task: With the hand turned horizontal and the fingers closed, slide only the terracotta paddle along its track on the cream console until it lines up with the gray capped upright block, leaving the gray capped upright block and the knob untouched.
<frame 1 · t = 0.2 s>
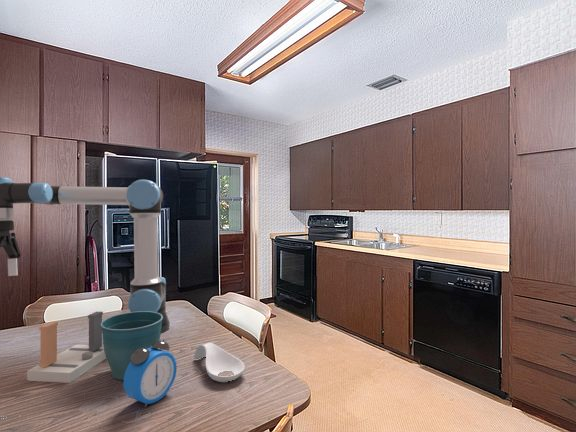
hand: (2, 278, 117), 27 cm above the table, tool pointing down, fingers open, 13 cm apart
console: (73, 366, 108), on the table
gray capped upright block: (95, 331, 113), point 10 cm above the table, slide at 7.0 cm
spoon rest: (215, 372, 105), on the table
flower pot: (132, 372, 104), on the table
alarm clock: (151, 399, 89), on the table
terracotta paddle: (48, 343, 102), point 10 cm above the table, slide at 0.0 cm
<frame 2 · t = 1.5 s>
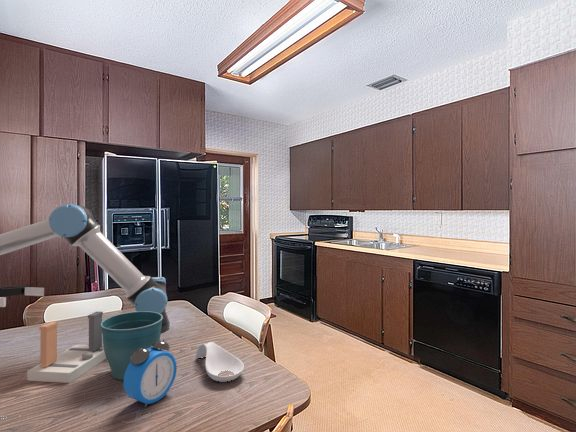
hand: (25, 296, 103), 24 cm above the table, tool horizontal, fingers open, 13 cm apart
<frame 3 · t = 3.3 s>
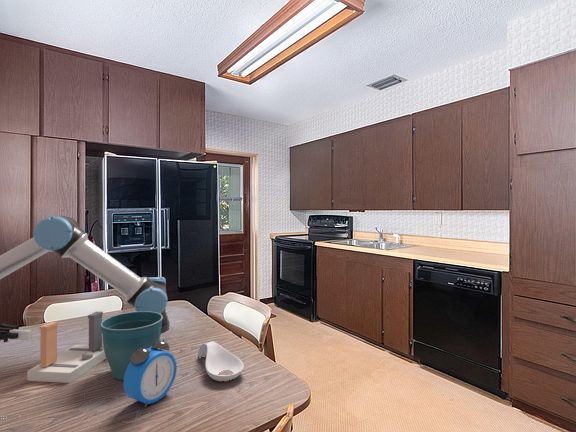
hand: (30, 335, 102), 12 cm above the table, tool horizontal, fingers closed
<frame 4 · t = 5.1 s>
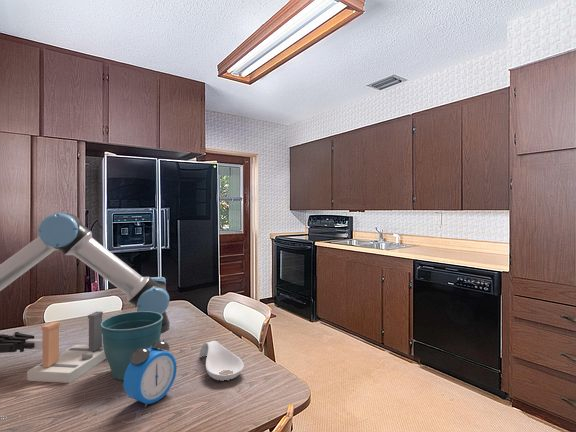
hand: (46, 344, 102), 10 cm above the table, tool horizontal, fingers closed
terracotta paddle: (50, 344, 102), point 10 cm above the table, slide at 0.7 cm, touching gripper
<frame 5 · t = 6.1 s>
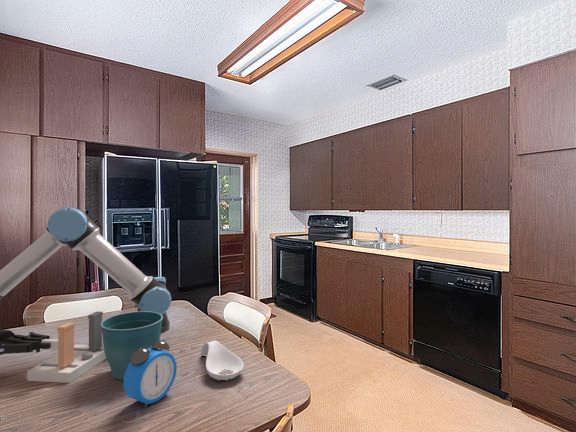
hand: (62, 344, 102), 10 cm above the table, tool horizontal, fingers closed
terracotta paddle: (66, 344, 102), point 10 cm above the table, slide at 5.9 cm, touching gripper
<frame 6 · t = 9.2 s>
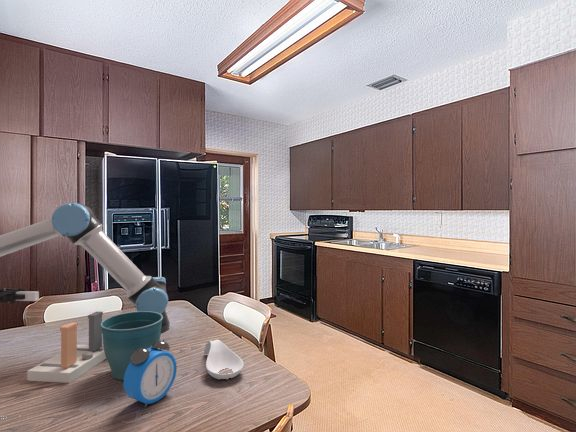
hand: (36, 296, 102), 25 cm above the table, tool horizontal, fingers closed
terracotta paddle: (69, 344, 101), point 10 cm above the table, slide at 6.9 cm
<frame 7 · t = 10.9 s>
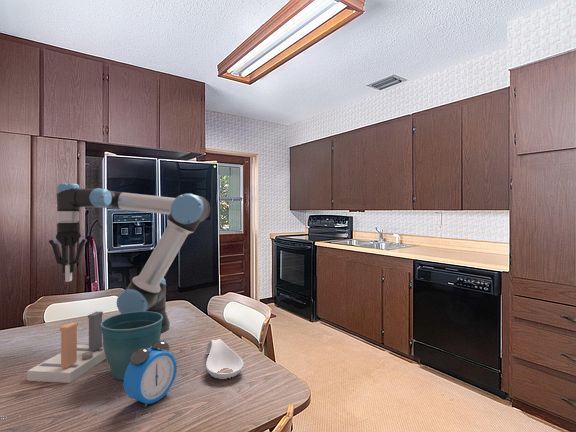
hand: (68, 280, 129), 24 cm above the table, tool pointing down, fingers closed
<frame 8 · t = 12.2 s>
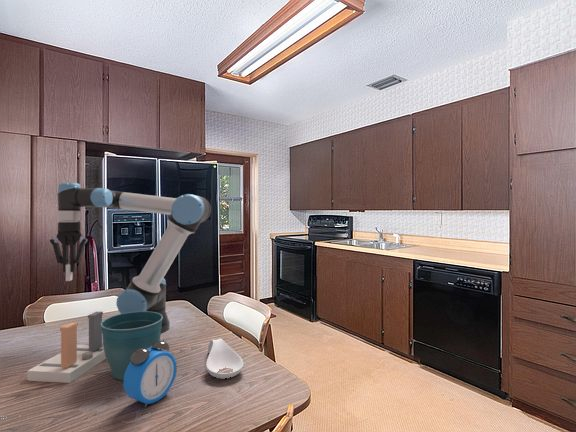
hand: (69, 280, 129), 24 cm above the table, tool pointing down, fingers closed
at the end: terracotta paddle slide at 6.9 cm; gray capped upright block slide at 7.0 cm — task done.
